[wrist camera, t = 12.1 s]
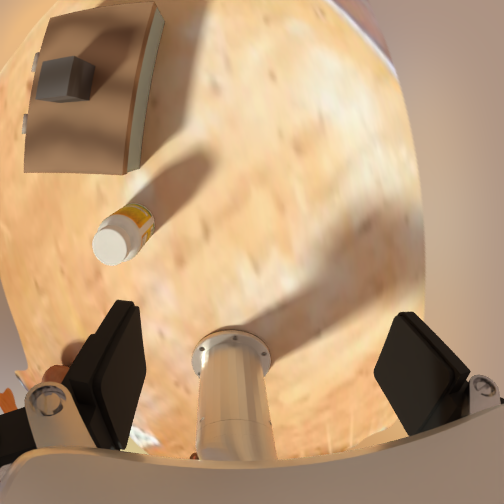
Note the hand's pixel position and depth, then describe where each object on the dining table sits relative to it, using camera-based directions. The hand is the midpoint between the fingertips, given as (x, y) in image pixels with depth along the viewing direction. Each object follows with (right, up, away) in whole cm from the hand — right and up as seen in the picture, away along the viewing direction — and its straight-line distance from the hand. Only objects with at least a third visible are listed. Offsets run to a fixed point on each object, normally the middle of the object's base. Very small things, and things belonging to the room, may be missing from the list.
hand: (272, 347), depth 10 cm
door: (-20, +22, +14) cm, 33 cm away
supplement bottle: (-16, +7, +26) cm, 31 cm away
